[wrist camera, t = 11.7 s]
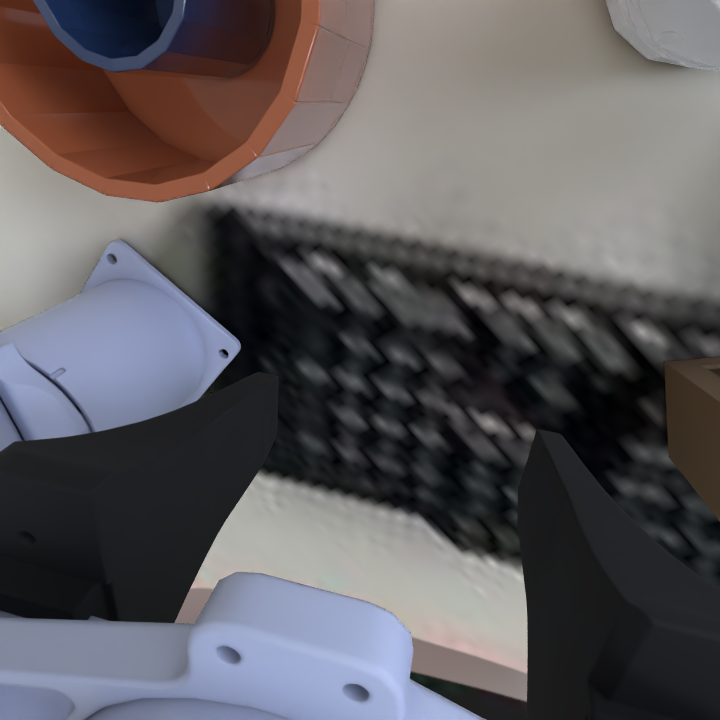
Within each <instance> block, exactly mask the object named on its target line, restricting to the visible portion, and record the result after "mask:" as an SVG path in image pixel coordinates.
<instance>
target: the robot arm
mask: <svg viewBox="0 0 720 720" xmlns="http://www.w3.org/2000/svg"><path fill="white" fill-rule="evenodd" d="M112 254H113V255H114V256H115V257H116V259H117V261H114V259H113V258H112ZM222 349H224V350H226V351H227V352H228V355H225V354H224V353H223V351H222ZM240 349H241V344H240V342H239V340H238V339H237V338H236V337H235V336H233V335H232V334H231V333H230V332H229V331H228V330H226V329H225V328H224V327H223V326H222V325H221V324H219V323H218V322H217V321H216V320H215V319H214V318H212V317H211V316H210V315H209V314H208V313H207V312H205V311H204V310H203V309H202V308H201V307H200V306H198V305H197V304H196V303H195V302H194V301H193V300H191V299H190V298H189V297H188V296H187V295H186V294H184V293H183V292H182V291H181V290H180V289H179V288H177V287H176V286H175V285H174V284H173V283H172V282H170V281H169V280H168V279H167V278H166V277H165V276H163V275H162V274H161V273H160V272H159V271H158V270H156V269H155V268H154V267H153V266H152V265H151V264H149V263H148V262H147V261H146V260H145V259H144V258H143V257H141V256H140V255H139V254H138V253H137V252H136V251H134V250H133V249H132V248H131V247H130V246H129V245H127V244H126V243H125V242H123V241H122V240H114V241H112V242H110V243H109V244H108V246H107V247H106V249H105V251H104V252H103V254H102V256H101V258H100V259H99V261H98V263H97V264H96V266H95V268H94V270H93V271H92V273H91V275H90V277H89V278H88V280H87V282H86V283H85V285H84V287H83V289H82V290H81V292H80V294H79V295H77V296H75V297H72V298H70V299H68V300H66V301H64V302H62V303H60V304H58V305H55V306H53V307H51V308H49V309H47V310H45V311H43V312H41V313H38V314H36V315H34V316H32V317H30V318H28V319H26V320H24V321H21V322H19V323H17V324H15V325H13V326H11V327H9V328H7V329H4V330H2V331H0V720H485V719H483V718H481V717H480V716H478V715H476V714H474V713H472V712H470V711H468V710H467V709H465V708H463V707H461V706H459V705H457V704H455V703H453V702H452V701H450V700H448V699H446V698H444V697H442V696H440V695H439V694H437V693H435V692H433V691H431V690H429V689H427V688H426V687H424V686H422V685H420V684H418V683H416V682H414V681H412V680H411V679H410V672H411V665H412V657H413V645H412V639H411V633H410V631H409V630H408V629H407V628H406V627H405V626H404V625H403V624H402V623H401V622H400V621H399V620H398V619H397V617H396V616H395V615H394V614H393V613H392V612H389V611H387V610H385V609H383V608H381V607H379V606H377V605H374V604H372V603H370V602H367V601H363V600H359V599H355V598H352V597H348V596H344V595H340V594H337V593H333V592H329V591H325V590H322V589H318V588H314V587H310V586H307V585H303V584H299V583H295V582H292V581H288V580H284V579H280V578H277V577H273V576H269V575H265V574H262V573H247V572H236V573H233V574H231V575H229V576H227V577H225V578H223V579H221V580H219V582H218V583H217V585H216V587H215V589H214V590H213V592H212V594H211V596H210V597H209V599H208V601H207V603H206V604H205V606H204V608H203V610H202V611H201V613H200V615H199V617H198V619H197V620H196V622H195V624H184V623H181V624H180V623H174V622H175V620H176V618H177V616H178V613H179V611H180V609H181V607H182V604H183V603H184V600H185V598H186V596H187V594H188V592H189V590H190V588H191V586H192V584H193V582H194V579H195V577H196V575H197V573H198V571H199V569H200V567H201V565H202V563H203V561H204V559H205V557H206V555H207V553H208V551H209V549H210V548H211V546H212V544H213V542H214V540H215V538H216V536H217V534H218V532H219V531H220V529H221V527H222V526H223V524H224V522H225V521H226V519H227V518H228V516H229V515H230V513H231V512H232V510H233V509H234V507H235V506H236V504H237V503H238V501H239V500H240V498H241V497H242V495H243V494H244V492H245V491H246V489H247V488H248V486H249V485H250V483H251V482H252V480H253V479H254V477H255V476H256V474H257V473H258V471H259V470H260V468H261V466H262V465H263V463H264V461H265V459H266V457H267V455H268V453H269V451H270V449H271V447H272V445H273V442H274V440H275V438H276V436H277V414H278V382H279V376H275V375H270V374H266V373H261V372H258V373H255V374H253V375H250V376H248V377H246V378H244V379H242V380H240V381H238V382H236V383H234V384H232V385H230V386H228V387H226V388H224V389H221V390H219V391H217V392H215V393H213V394H211V395H209V396H207V397H205V398H202V399H200V400H198V399H199V398H200V397H201V396H202V394H203V393H204V392H205V391H206V390H207V389H208V387H209V386H210V385H211V384H212V383H213V382H214V380H215V379H216V378H217V377H218V376H219V375H220V373H221V372H222V371H223V370H224V369H225V368H226V366H227V365H228V364H229V363H230V362H231V361H232V359H233V358H234V357H235V356H236V355H237V354H238V352H239V351H240ZM518 531H519V540H520V549H521V557H522V566H523V574H524V582H525V591H526V600H527V618H528V681H527V683H528V684H527V687H528V688H527V720H720V590H719V589H717V588H716V587H714V586H713V585H711V584H710V583H708V582H707V581H705V580H704V579H703V578H701V577H700V576H698V575H697V574H696V573H694V572H693V571H692V570H690V569H689V568H688V567H686V566H685V565H684V564H682V563H681V562H680V561H679V560H677V559H676V558H675V557H674V556H672V555H671V554H670V553H669V552H667V551H666V550H665V549H664V548H663V547H661V546H660V545H659V544H658V543H657V542H656V541H654V540H653V539H652V538H651V537H650V536H649V535H648V534H647V533H646V532H645V531H644V530H642V529H641V528H640V527H639V526H638V525H637V524H636V523H635V522H634V521H633V520H632V519H631V518H630V517H629V516H628V515H627V514H626V513H625V512H624V511H623V510H622V509H621V508H620V507H619V506H618V504H617V503H616V502H615V501H614V500H613V499H612V498H611V497H610V496H609V495H608V493H607V492H606V491H605V490H604V489H603V488H602V486H601V485H600V484H599V483H598V482H597V480H596V479H595V478H594V477H593V475H592V474H591V473H590V472H589V470H588V469H587V468H586V466H585V465H584V464H583V463H582V461H581V460H580V459H579V457H578V456H577V455H576V453H575V452H574V451H573V449H572V448H571V446H570V445H569V444H568V442H567V441H566V440H565V439H564V437H563V436H562V435H561V434H558V433H553V432H548V431H544V430H539V429H537V431H536V434H535V437H534V441H533V444H532V447H531V450H530V453H529V457H528V460H527V463H526V466H525V469H524V472H523V476H522V479H521V482H520V485H519V488H518Z"/></svg>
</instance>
